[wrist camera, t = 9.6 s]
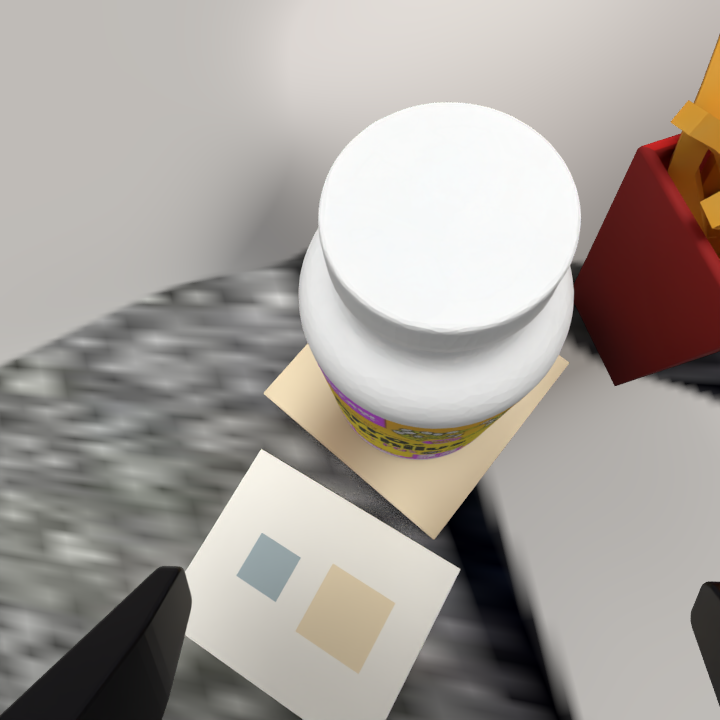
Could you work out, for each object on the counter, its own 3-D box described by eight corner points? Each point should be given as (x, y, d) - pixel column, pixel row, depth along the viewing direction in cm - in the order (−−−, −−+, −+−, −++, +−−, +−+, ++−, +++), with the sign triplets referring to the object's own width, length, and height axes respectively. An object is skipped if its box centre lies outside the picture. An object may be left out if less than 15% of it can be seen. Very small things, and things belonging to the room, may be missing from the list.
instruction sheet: (460, 569, 22) (460, 569, 21) (364, 761, 20) (364, 763, 20) (262, 449, 24) (261, 448, 23) (159, 615, 22) (157, 615, 22)
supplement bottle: (308, 418, 21) (189, 289, 9) (379, 284, 23) (358, 16, 11) (460, 492, 20) (560, 459, 8) (524, 345, 22) (692, 122, 9)
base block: (552, 377, 24) (569, 362, 21) (430, 536, 22) (434, 539, 20) (398, 267, 26) (398, 241, 23) (276, 405, 24) (263, 393, 22)
